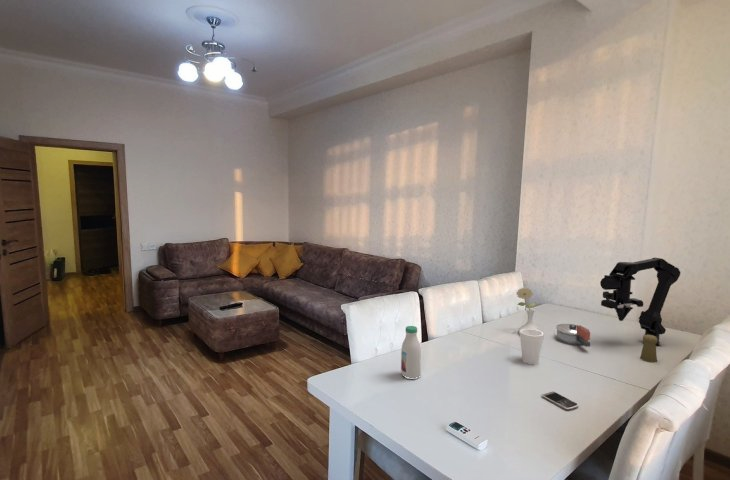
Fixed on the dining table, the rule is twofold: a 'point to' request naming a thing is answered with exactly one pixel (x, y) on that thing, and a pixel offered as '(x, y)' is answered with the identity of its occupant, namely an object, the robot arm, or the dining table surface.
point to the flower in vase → (525, 294)
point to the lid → (574, 330)
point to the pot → (572, 339)
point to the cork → (649, 348)
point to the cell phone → (560, 401)
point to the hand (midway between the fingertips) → (620, 320)
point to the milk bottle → (411, 354)
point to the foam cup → (531, 345)
